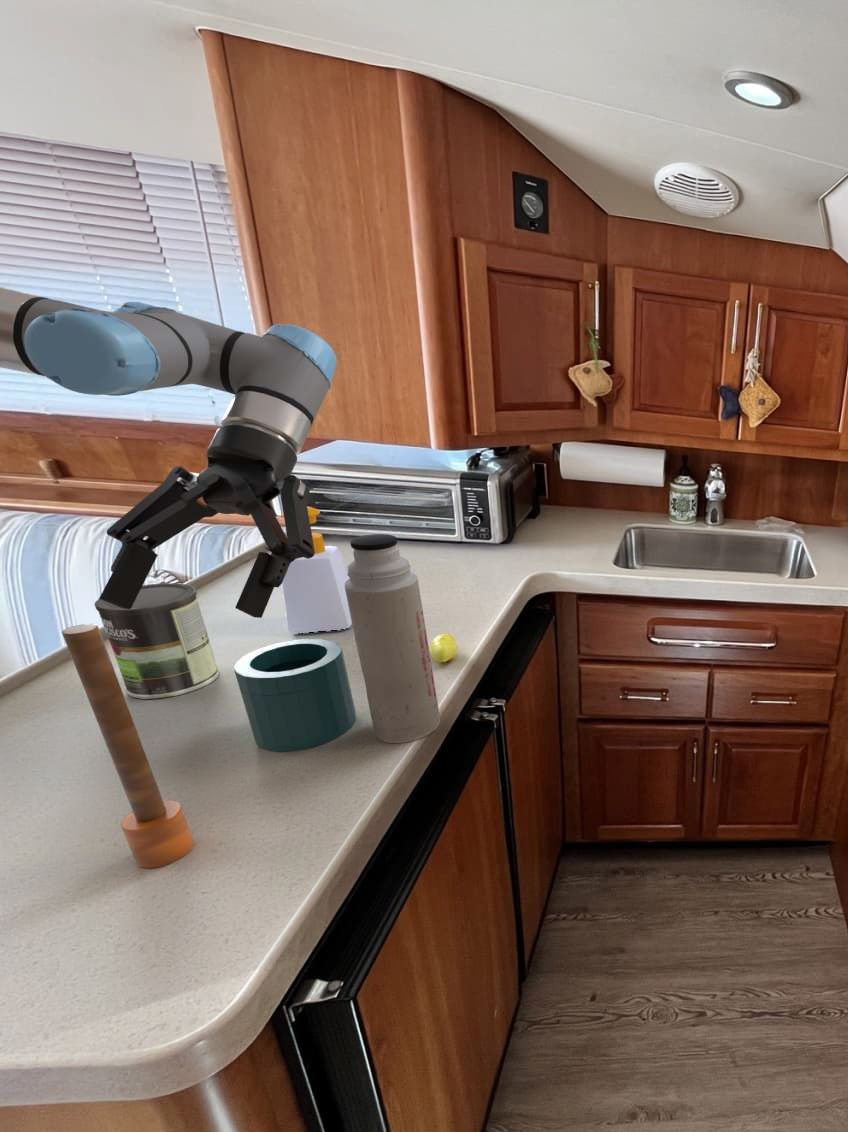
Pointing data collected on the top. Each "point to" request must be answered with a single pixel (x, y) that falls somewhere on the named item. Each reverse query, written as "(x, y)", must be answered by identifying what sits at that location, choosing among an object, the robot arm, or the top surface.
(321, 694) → the teal ring pot
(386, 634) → the thermos bottle
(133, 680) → the coffee can
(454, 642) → the lemon
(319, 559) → the soap bottle
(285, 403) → the robot arm
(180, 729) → the top surface
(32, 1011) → the top surface
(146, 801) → the wooden peg with base
